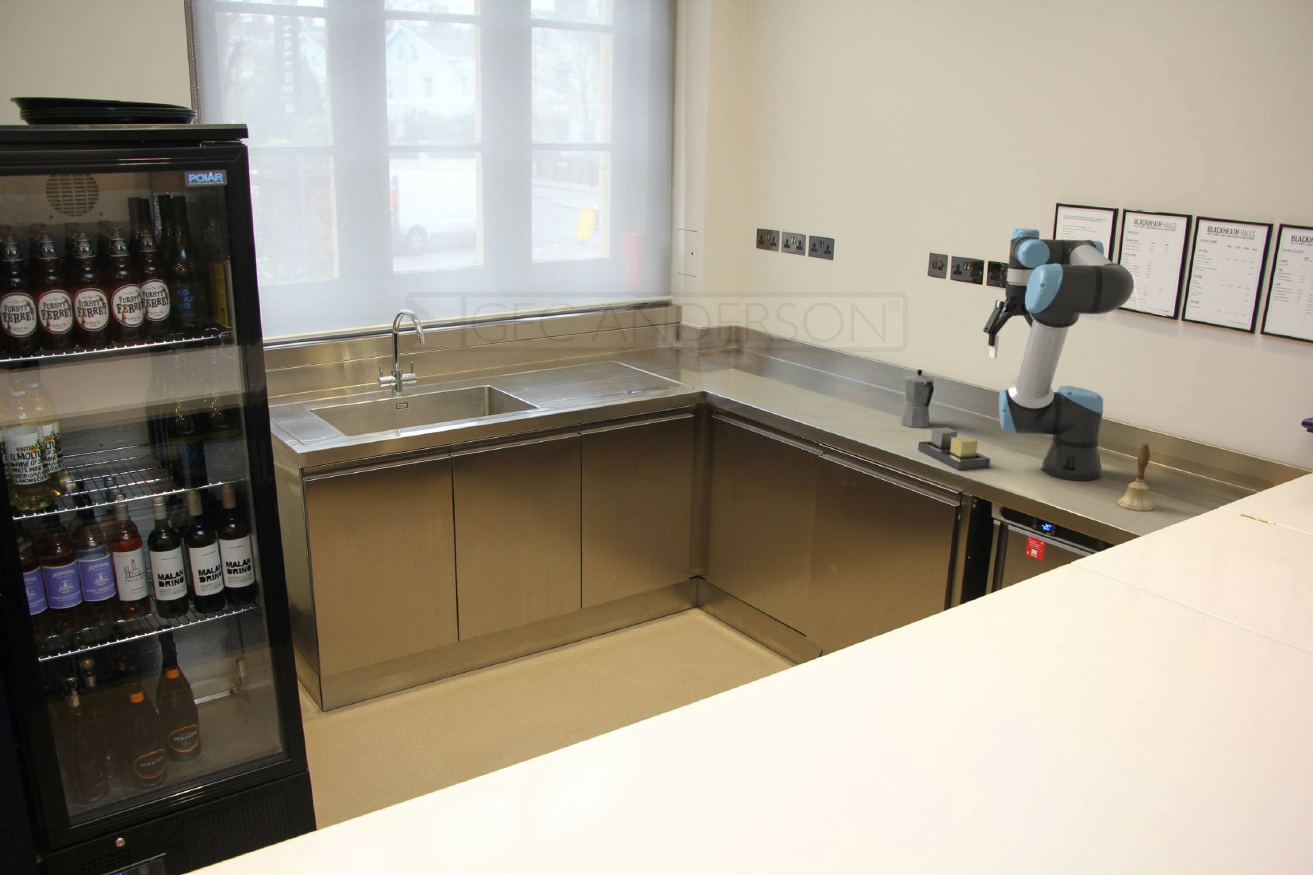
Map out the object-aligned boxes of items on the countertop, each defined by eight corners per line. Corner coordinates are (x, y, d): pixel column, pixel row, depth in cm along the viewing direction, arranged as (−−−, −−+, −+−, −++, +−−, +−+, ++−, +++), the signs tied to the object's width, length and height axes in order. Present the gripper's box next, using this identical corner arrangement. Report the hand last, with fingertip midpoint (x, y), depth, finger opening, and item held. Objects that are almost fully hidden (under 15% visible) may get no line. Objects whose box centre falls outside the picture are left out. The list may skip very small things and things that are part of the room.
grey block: (955, 455, 291) (957, 431, 289) (940, 456, 289) (942, 433, 287) (945, 450, 295) (947, 427, 293) (930, 451, 294) (932, 428, 292)
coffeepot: (892, 420, 330) (896, 366, 325) (918, 418, 332) (923, 364, 327) (915, 432, 316) (919, 376, 311) (942, 431, 318) (947, 374, 313)
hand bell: (1151, 502, 255) (1160, 441, 251) (1155, 513, 247) (1165, 450, 243) (1115, 498, 258) (1124, 438, 253) (1118, 509, 250) (1127, 447, 246)
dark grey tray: (989, 469, 280) (990, 458, 279) (957, 472, 277) (959, 461, 276) (947, 449, 298) (948, 439, 298) (917, 451, 295) (918, 442, 295)
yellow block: (975, 465, 282) (977, 441, 280) (959, 466, 280) (961, 442, 278) (964, 460, 286) (967, 436, 284) (949, 461, 285) (951, 437, 283)
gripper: (1047, 280, 299) (1039, 351, 305) (975, 283, 292) (968, 355, 298) (1064, 283, 293) (1056, 356, 298) (991, 286, 285) (983, 360, 291)
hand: (1012, 355), depth 298 cm, fingers open, 13 cm apart
